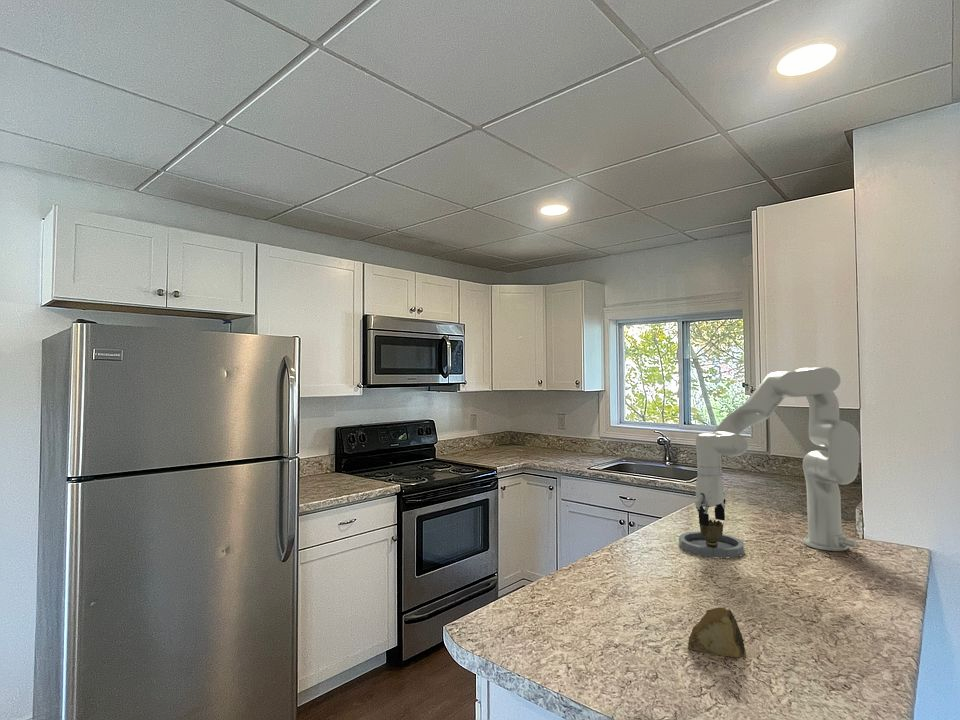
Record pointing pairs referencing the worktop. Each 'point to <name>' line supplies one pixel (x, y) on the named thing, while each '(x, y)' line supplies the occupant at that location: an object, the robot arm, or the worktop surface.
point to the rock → (717, 634)
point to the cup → (712, 532)
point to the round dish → (698, 546)
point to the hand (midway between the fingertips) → (712, 522)
